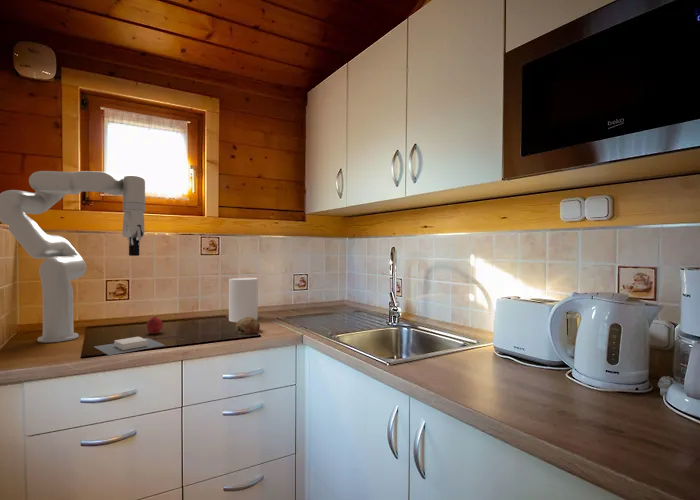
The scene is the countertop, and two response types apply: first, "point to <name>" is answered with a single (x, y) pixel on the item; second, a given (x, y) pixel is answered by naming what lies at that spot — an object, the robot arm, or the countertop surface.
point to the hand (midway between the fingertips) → (134, 255)
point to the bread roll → (247, 326)
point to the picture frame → (130, 343)
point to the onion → (154, 325)
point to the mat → (112, 350)
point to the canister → (243, 298)
